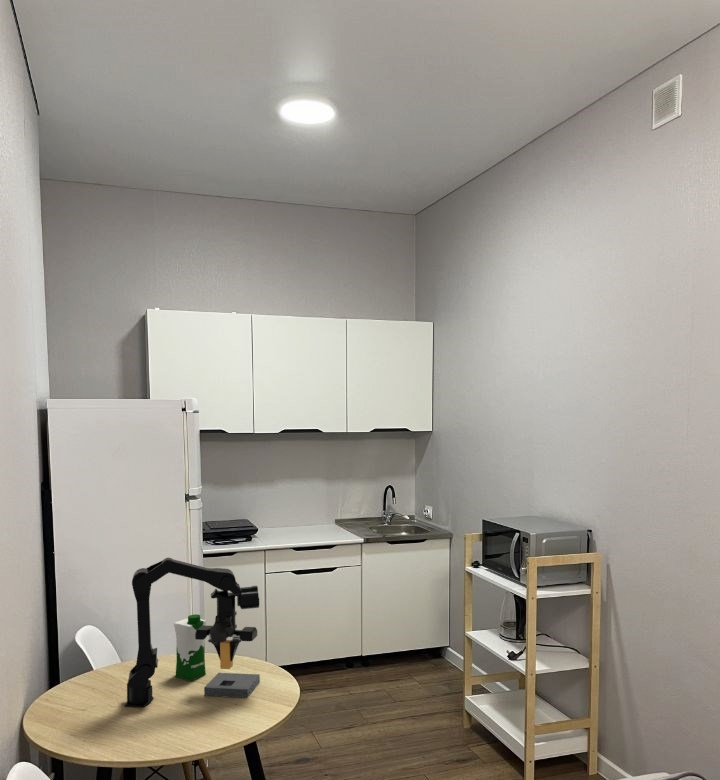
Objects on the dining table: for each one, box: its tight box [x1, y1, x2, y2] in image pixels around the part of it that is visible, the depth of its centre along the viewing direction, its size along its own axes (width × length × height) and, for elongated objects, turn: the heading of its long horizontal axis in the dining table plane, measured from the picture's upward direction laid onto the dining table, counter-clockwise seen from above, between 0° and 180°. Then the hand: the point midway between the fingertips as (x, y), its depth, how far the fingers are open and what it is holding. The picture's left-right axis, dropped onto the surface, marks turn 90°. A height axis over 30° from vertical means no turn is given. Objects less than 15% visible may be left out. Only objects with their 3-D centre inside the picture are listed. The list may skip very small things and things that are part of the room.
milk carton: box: [173, 614, 207, 682], centre depth 224 cm, size 9×9×20 cm
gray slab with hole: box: [203, 672, 261, 699], centre depth 212 cm, size 14×12×2 cm
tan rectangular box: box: [219, 639, 234, 670], centre depth 211 cm, size 3×3×8 cm
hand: (226, 660), depth 211 cm, fingers closed on tan rectangular box, 3 cm apart
